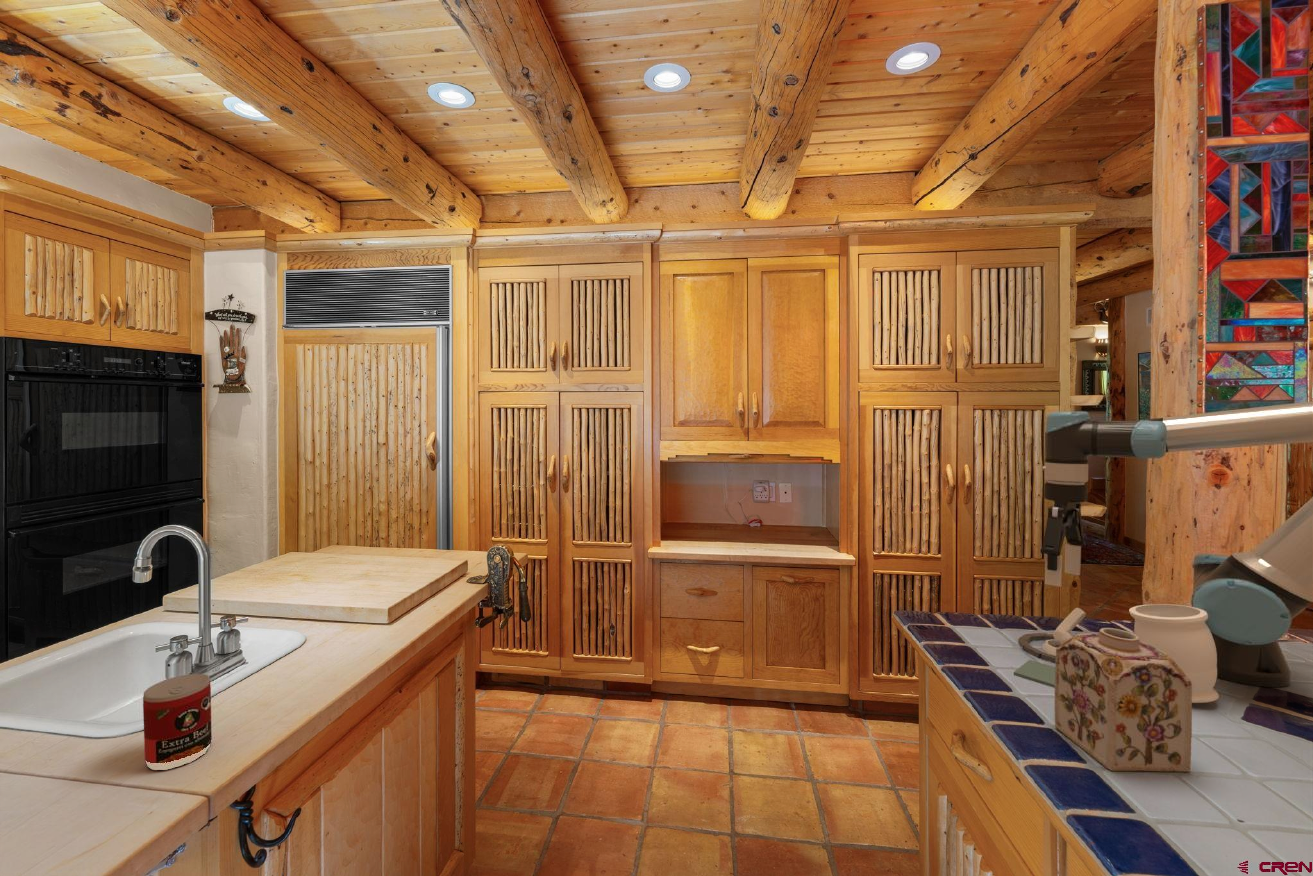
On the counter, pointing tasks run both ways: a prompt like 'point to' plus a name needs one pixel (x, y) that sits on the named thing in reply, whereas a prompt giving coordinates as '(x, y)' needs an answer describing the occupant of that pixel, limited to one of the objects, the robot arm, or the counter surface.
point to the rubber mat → (1037, 672)
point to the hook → (1064, 631)
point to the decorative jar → (1124, 702)
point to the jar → (1181, 642)
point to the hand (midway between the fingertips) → (1063, 579)
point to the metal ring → (1035, 652)
